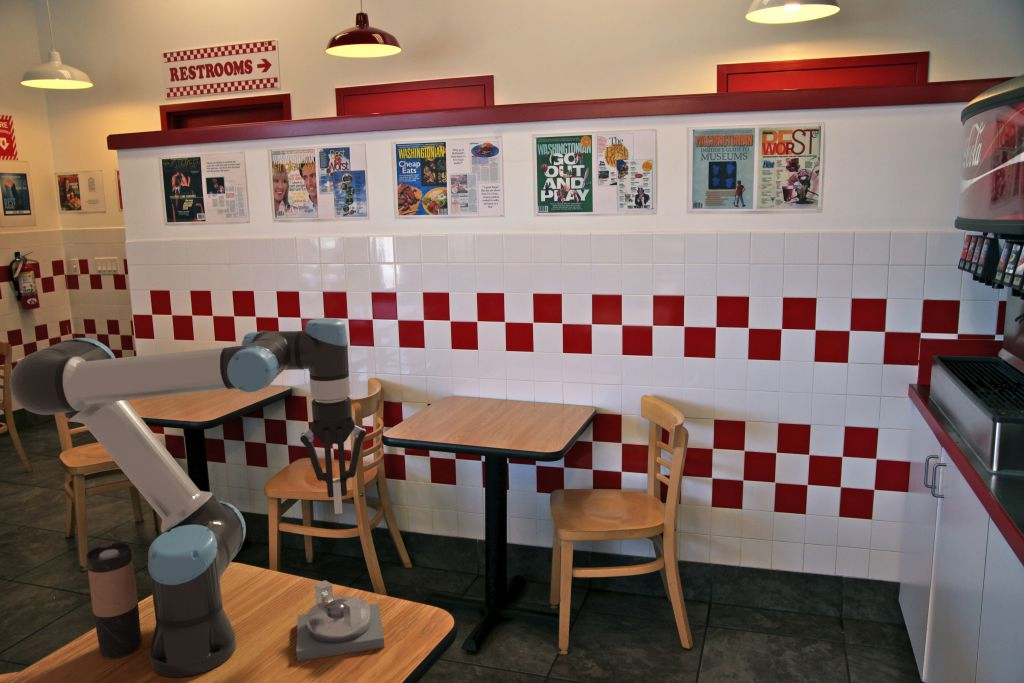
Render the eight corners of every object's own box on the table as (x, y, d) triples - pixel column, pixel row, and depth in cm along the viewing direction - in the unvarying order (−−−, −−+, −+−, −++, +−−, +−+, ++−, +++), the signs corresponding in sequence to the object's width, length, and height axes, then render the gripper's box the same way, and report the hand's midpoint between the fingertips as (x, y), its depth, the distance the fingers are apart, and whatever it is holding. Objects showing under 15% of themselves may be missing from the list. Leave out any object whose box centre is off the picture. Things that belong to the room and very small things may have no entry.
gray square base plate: (297, 661, 146) (296, 648, 145) (298, 624, 158) (297, 612, 157) (384, 647, 149) (383, 635, 149) (379, 612, 162) (378, 600, 161)
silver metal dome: (353, 646, 146) (351, 613, 145) (295, 637, 149) (293, 605, 148) (380, 612, 157) (379, 581, 156) (326, 605, 160) (324, 575, 159)
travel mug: (125, 661, 147) (112, 562, 143) (89, 657, 148) (75, 559, 144) (151, 638, 154) (139, 543, 150) (117, 635, 156) (104, 540, 152)
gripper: (363, 390, 159) (370, 500, 164) (297, 395, 156) (305, 507, 161) (365, 400, 152) (372, 514, 156) (296, 405, 149) (304, 522, 153)
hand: (338, 511), depth 159 cm, fingers closed
